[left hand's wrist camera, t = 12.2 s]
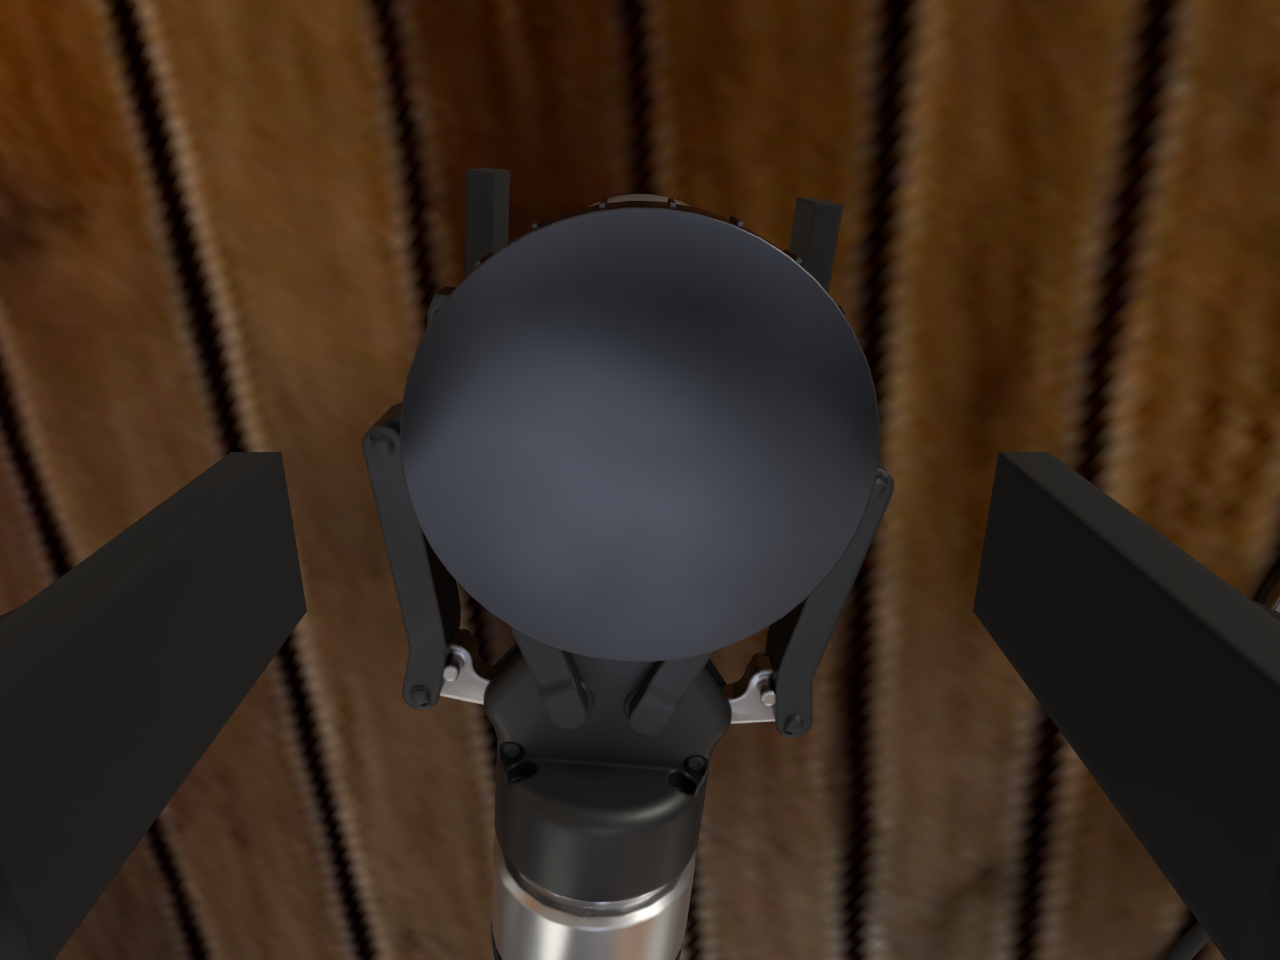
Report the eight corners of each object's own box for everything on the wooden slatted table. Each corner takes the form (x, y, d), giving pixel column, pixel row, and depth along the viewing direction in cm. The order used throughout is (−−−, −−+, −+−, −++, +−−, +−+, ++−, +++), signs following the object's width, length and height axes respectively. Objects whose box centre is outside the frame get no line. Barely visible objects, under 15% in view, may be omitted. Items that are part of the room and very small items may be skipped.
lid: (948, 412, 18) (986, 444, 16) (651, 685, 21) (653, 741, 19) (625, 88, 16) (623, 80, 14) (335, 438, 19) (299, 472, 17)
